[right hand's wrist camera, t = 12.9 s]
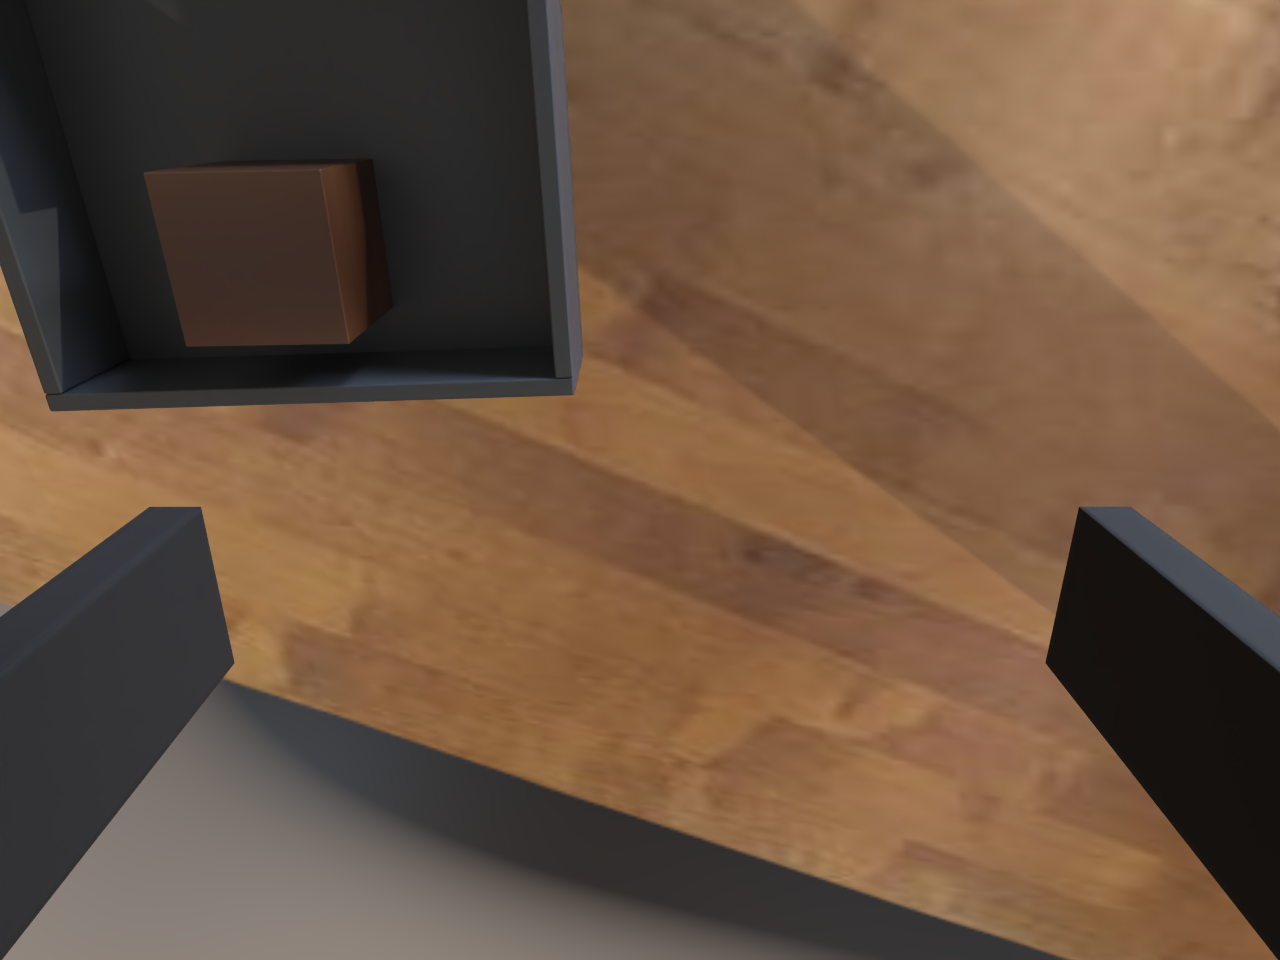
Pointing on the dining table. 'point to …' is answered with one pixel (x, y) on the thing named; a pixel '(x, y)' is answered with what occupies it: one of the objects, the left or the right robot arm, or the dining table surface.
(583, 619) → the dining table surface
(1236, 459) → the dining table surface
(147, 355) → the grey tray
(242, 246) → the walnut cube
